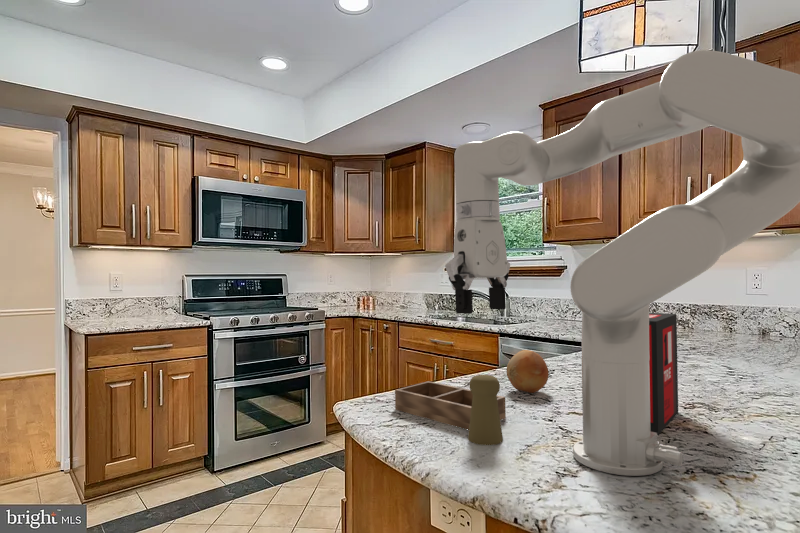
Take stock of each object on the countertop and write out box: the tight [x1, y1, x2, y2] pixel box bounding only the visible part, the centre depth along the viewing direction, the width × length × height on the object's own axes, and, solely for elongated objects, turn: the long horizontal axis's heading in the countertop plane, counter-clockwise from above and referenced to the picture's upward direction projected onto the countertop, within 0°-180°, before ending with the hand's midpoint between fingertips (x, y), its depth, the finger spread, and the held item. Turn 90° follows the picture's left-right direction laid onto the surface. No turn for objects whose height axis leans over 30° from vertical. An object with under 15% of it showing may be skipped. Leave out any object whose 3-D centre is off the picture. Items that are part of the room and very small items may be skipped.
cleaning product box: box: [649, 312, 679, 436], centre depth 94 cm, size 16×9×20 cm, turn 139°
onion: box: [506, 349, 550, 394], centre depth 115 cm, size 10×10×10 cm
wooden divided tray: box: [394, 380, 507, 431], centre depth 99 cm, size 20×11×4 cm, turn 45°
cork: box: [467, 374, 504, 446], centre depth 84 cm, size 6×6×11 cm
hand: (481, 311), depth 85 cm, fingers open, 9 cm apart
